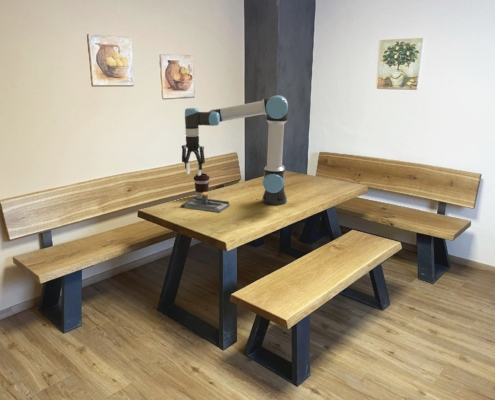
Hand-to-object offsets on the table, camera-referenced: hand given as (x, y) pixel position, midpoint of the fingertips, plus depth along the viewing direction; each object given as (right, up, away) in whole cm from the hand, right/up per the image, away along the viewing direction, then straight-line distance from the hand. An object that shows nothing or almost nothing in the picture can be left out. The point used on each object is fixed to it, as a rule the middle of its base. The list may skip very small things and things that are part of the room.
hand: (193, 174), depth 246 cm
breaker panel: (+7, -19, +3) cm, 20 cm away
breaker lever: (+7, -18, +3) cm, 19 cm away
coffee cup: (+3, -13, +22) cm, 26 cm away
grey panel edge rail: (-4, -18, +7) cm, 20 cm away
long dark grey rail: (+9, -16, +11) cm, 22 cm away
